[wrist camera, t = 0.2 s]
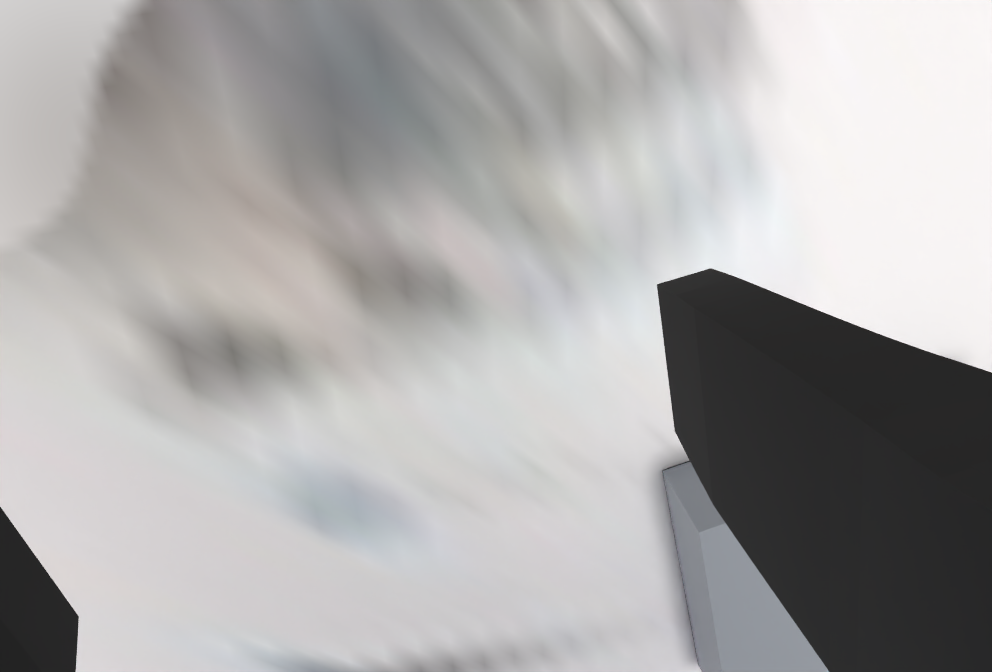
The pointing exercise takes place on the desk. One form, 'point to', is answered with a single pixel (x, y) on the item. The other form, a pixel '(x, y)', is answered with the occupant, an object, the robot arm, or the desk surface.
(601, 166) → the desk surface
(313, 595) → the desk surface
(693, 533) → the plinth
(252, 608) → the desk surface
